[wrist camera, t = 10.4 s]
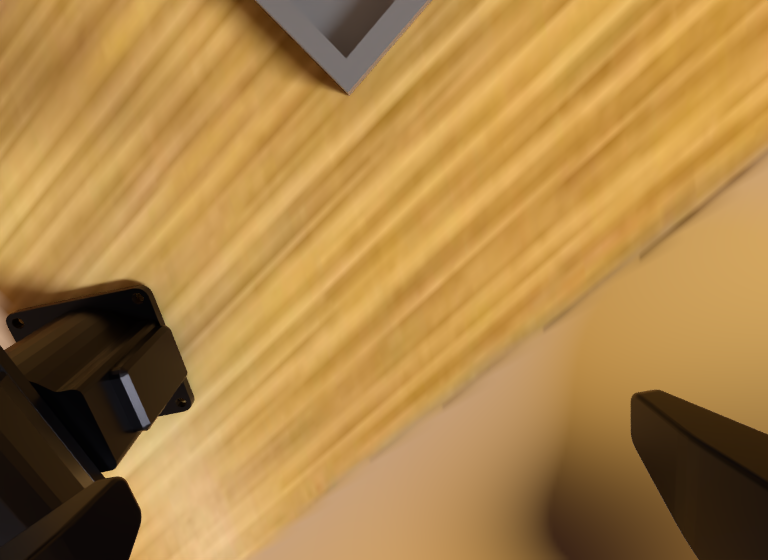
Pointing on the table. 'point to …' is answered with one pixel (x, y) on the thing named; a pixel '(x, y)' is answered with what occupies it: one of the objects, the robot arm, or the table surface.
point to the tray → (345, 31)
